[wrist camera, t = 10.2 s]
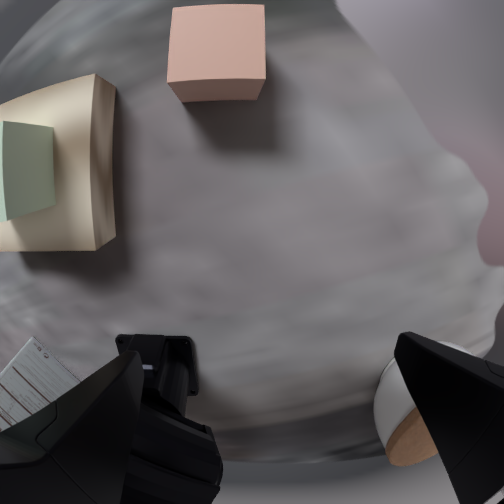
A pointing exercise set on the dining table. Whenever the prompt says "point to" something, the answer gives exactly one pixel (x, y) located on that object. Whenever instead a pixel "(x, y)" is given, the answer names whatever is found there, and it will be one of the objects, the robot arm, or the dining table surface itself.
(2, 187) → the sage cube
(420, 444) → the lidded bowl
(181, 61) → the clay cube
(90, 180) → the birch block
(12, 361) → the supplement box
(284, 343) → the dining table surface
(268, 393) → the dining table surface
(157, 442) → the robot arm
